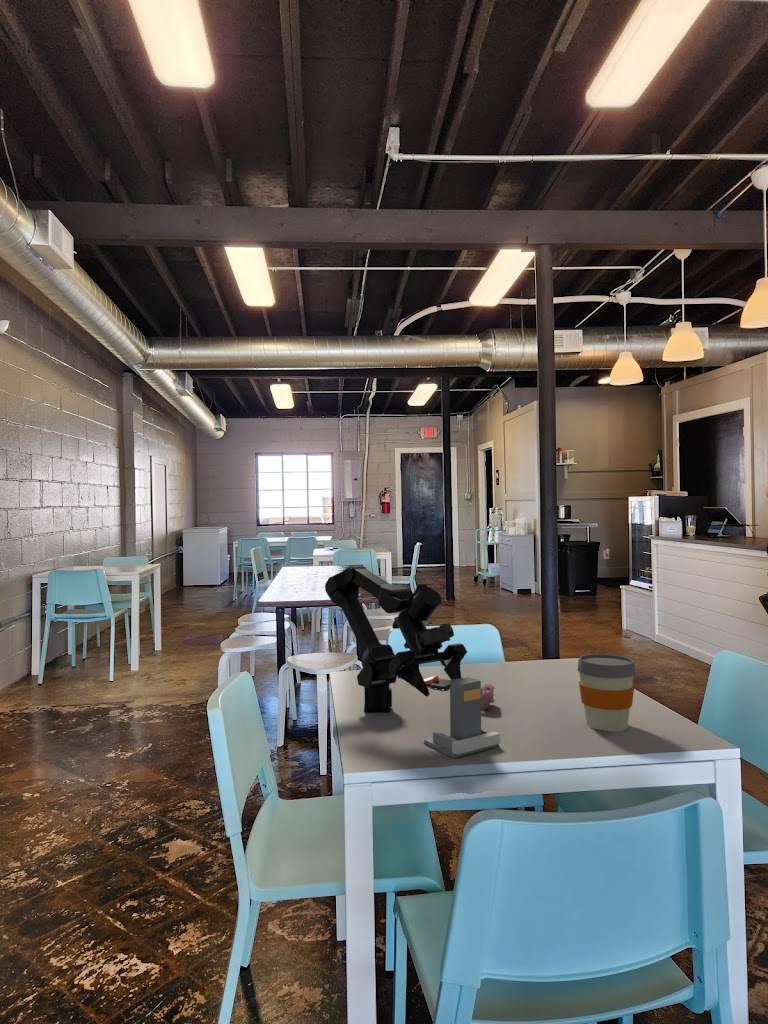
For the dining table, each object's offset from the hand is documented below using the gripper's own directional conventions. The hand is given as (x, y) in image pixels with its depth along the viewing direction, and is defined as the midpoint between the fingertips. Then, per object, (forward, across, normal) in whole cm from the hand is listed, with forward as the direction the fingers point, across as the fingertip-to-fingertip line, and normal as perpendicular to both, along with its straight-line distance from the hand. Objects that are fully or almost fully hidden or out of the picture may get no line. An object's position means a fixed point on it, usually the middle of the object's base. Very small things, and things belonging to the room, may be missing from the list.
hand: (445, 692), depth 136 cm
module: (+11, 0, +1) cm, 11 cm away
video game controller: (-1, +22, +16) cm, 27 cm away
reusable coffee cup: (+17, +36, -3) cm, 40 cm away
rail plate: (+11, 0, +3) cm, 11 cm away
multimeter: (-19, +22, +35) cm, 46 cm away
